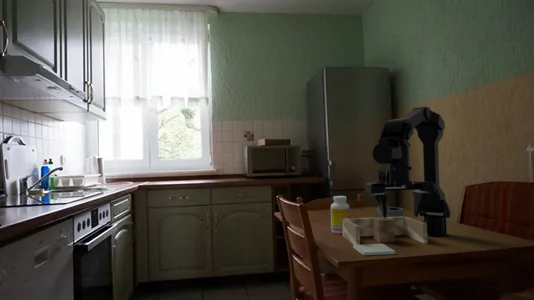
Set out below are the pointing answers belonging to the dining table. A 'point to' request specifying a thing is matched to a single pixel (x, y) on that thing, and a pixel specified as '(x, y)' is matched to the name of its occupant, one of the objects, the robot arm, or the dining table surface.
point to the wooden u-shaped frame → (401, 225)
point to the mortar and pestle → (391, 212)
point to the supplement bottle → (339, 213)
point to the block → (383, 229)
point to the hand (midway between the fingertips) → (400, 217)
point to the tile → (373, 249)
